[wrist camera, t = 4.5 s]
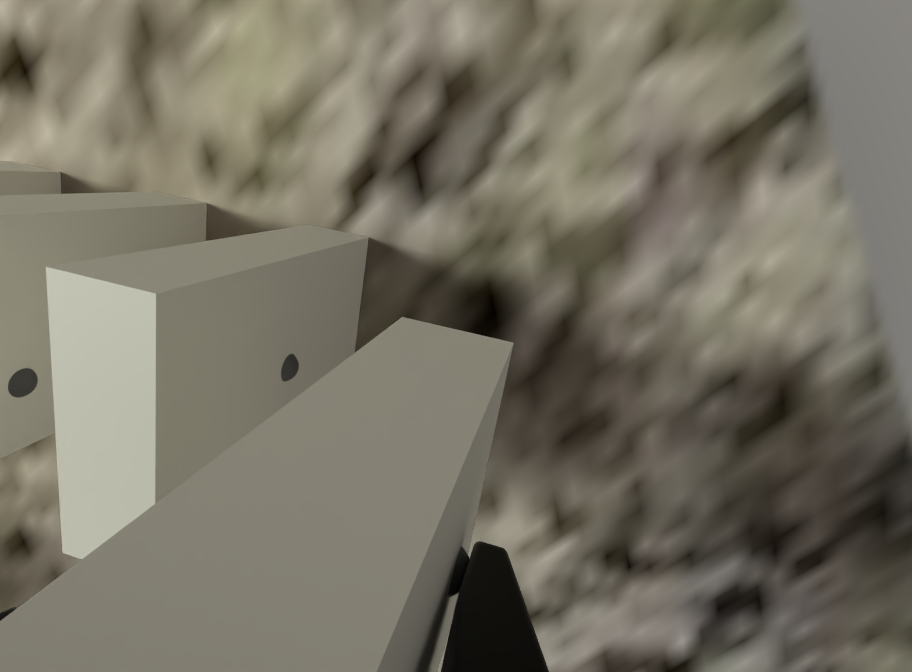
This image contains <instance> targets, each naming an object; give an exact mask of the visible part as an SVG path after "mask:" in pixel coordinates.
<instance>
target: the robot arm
mask: <svg viewBox="0 0 912 672" xmlns="http://www.w3.org/2000/svg"><path fill="white" fill-rule="evenodd" d="M17 608H18V607H14V608H11V609H8V610H6V611H3V612H1V613H0V621H1V620H2V619H4V618H5V617H6V616H7V615H9V614H10V613H11V612H13V611H14V610H15V609H17ZM441 672H549V671H548V668H547V665H546V662H545V659H544V656H543V654H542V651H541V648H540V645H539V642H538V639H537V636H536V633H535V631H534V628H533V625H532V622H531V619H530V616H529V613H528V611H527V608H526V605H525V602H524V599H523V596H522V593H521V591H520V588H519V585H518V582H517V579H516V576H515V573H514V571H513V568H512V565H511V562H510V559H509V556H508V554H507V551H506V550H505V549H504V548H501V547H498V546H495V545H491V544H488V543H484V542H481V541H479V542H476V543H475V544H474V547H473V550H472V553H471V556H470V559H469V562H468V566H467V569H466V572H465V575H464V578H463V581H462V584H461V588H460V591H459V594H458V598H457V601H456V605H455V610H454V614H453V619H452V624H451V628H450V633H449V637H448V642H447V647H446V651H445V656H444V660H443V665H442V669H441Z"/></svg>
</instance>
